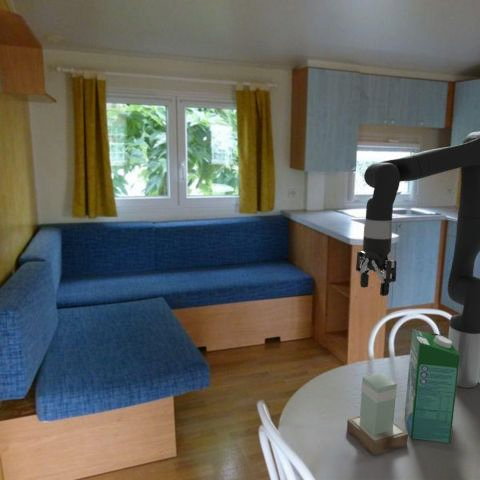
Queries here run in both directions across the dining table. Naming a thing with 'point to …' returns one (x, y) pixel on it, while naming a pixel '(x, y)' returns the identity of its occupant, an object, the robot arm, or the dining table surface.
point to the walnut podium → (377, 437)
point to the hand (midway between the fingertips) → (373, 291)
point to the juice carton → (378, 403)
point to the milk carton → (431, 387)
